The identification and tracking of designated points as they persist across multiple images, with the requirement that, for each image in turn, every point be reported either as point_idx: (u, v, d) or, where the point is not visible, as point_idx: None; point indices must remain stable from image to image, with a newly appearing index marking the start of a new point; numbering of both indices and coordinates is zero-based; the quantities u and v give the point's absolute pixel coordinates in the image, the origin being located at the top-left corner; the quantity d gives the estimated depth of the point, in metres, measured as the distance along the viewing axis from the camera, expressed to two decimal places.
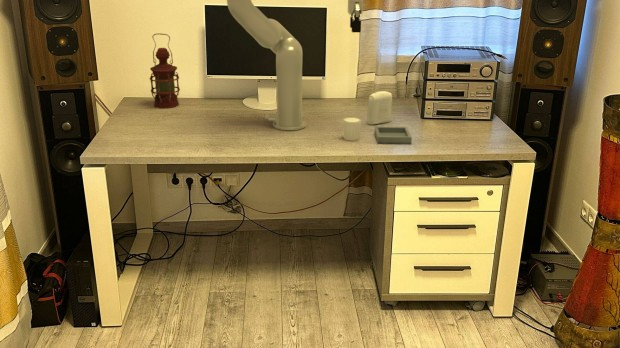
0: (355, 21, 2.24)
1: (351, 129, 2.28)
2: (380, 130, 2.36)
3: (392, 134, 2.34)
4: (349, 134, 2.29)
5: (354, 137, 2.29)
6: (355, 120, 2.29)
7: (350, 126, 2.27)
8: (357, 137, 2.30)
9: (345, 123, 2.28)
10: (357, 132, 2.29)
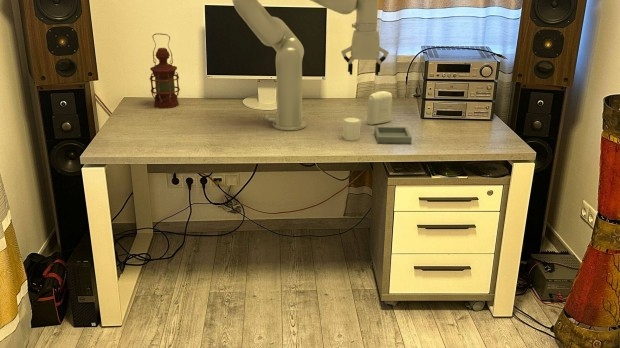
0: None
1: (351, 129, 2.28)
2: (380, 130, 2.36)
3: (392, 134, 2.34)
4: (349, 134, 2.29)
5: (354, 137, 2.29)
6: (355, 120, 2.29)
7: (350, 126, 2.27)
8: (357, 137, 2.30)
9: (345, 123, 2.28)
10: (357, 132, 2.29)
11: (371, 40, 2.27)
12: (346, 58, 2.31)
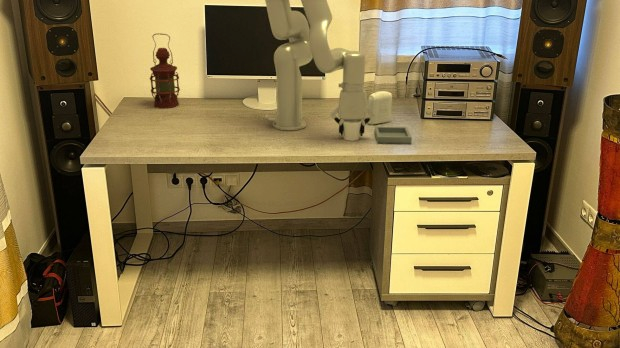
0: (364, 125, 2.30)
1: (351, 129, 2.28)
2: (380, 130, 2.36)
3: (392, 134, 2.34)
4: (349, 134, 2.28)
5: (354, 137, 2.29)
6: (355, 120, 2.29)
7: (350, 126, 2.27)
8: (357, 137, 2.30)
9: (345, 123, 2.27)
10: (357, 132, 2.29)
11: (358, 100, 2.24)
12: (336, 120, 2.28)
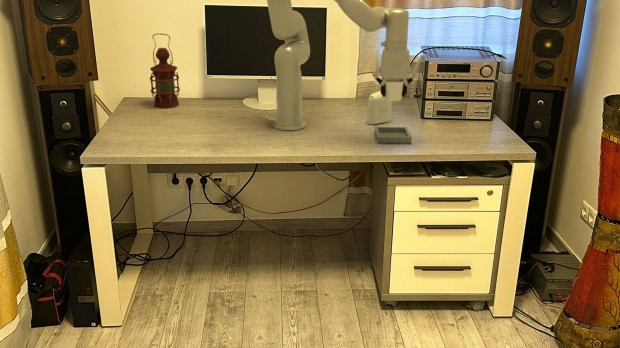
0: None
1: (393, 89, 2.22)
2: (380, 130, 2.36)
3: (392, 134, 2.34)
4: (391, 94, 2.23)
5: (397, 98, 2.23)
6: (397, 80, 2.23)
7: (393, 86, 2.21)
8: (399, 98, 2.24)
9: (387, 83, 2.22)
10: (400, 92, 2.23)
11: (401, 59, 2.18)
12: (379, 80, 2.23)
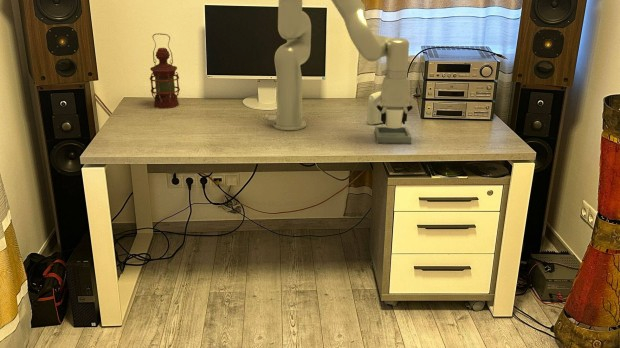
0: None
1: (393, 117, 2.26)
2: (380, 130, 2.36)
3: (392, 134, 2.34)
4: (392, 122, 2.27)
5: (397, 125, 2.27)
6: (398, 108, 2.27)
7: (393, 114, 2.25)
8: (400, 125, 2.28)
9: (388, 111, 2.26)
10: (400, 120, 2.27)
11: (401, 88, 2.22)
12: (379, 107, 2.27)
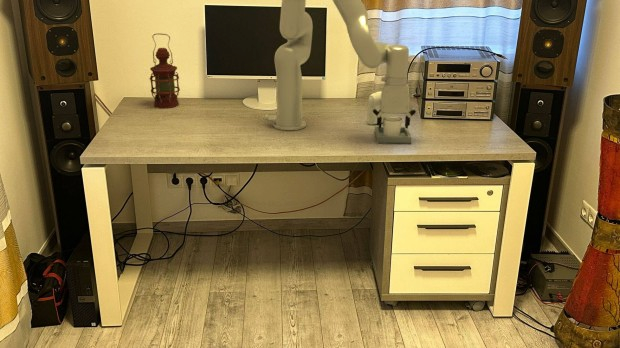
0: None
1: (391, 128, 2.27)
2: (380, 130, 2.36)
3: None
4: (390, 133, 2.28)
5: None
6: (396, 119, 2.29)
7: (391, 125, 2.27)
8: None
9: (386, 122, 2.27)
10: (398, 131, 2.29)
11: (401, 94, 2.23)
12: (375, 111, 2.27)
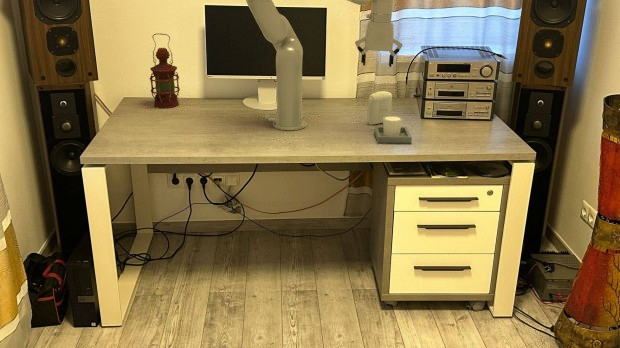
0: (394, 55, 2.33)
1: (391, 128, 2.28)
2: (380, 130, 2.36)
3: None
4: (390, 133, 2.28)
5: None
6: (396, 119, 2.29)
7: (391, 125, 2.27)
8: None
9: (386, 122, 2.27)
10: (398, 131, 2.29)
11: (385, 31, 2.27)
12: (359, 48, 2.32)
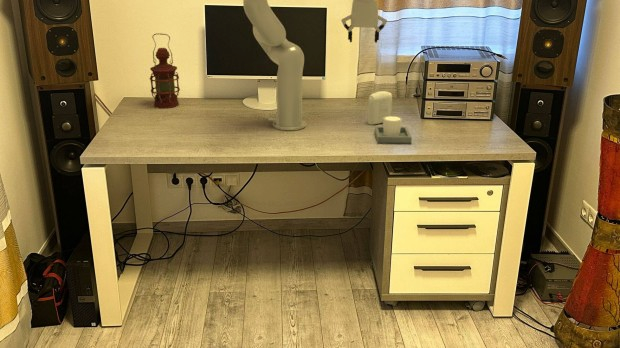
0: (379, 31, 2.42)
1: (391, 128, 2.28)
2: (380, 130, 2.36)
3: None
4: (390, 133, 2.28)
5: None
6: (396, 119, 2.29)
7: (391, 125, 2.27)
8: None
9: (386, 122, 2.27)
10: (398, 131, 2.29)
11: (369, 8, 2.37)
12: (346, 26, 2.41)
